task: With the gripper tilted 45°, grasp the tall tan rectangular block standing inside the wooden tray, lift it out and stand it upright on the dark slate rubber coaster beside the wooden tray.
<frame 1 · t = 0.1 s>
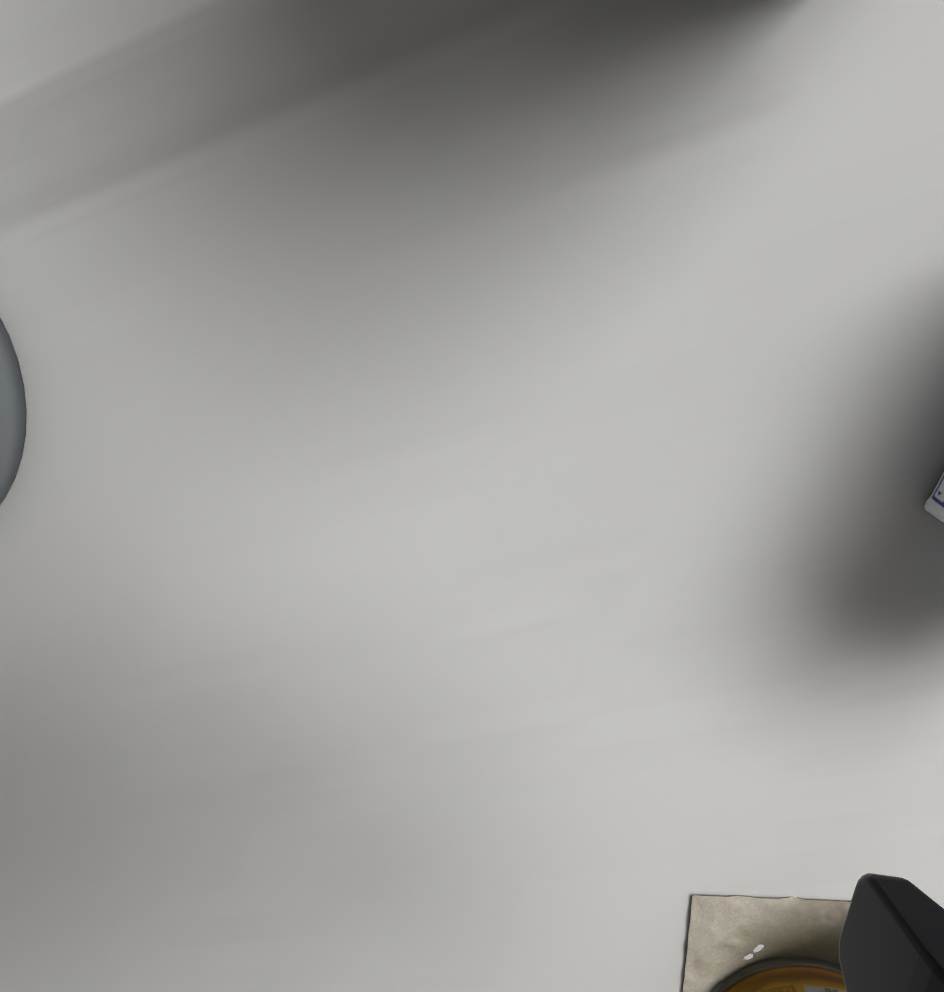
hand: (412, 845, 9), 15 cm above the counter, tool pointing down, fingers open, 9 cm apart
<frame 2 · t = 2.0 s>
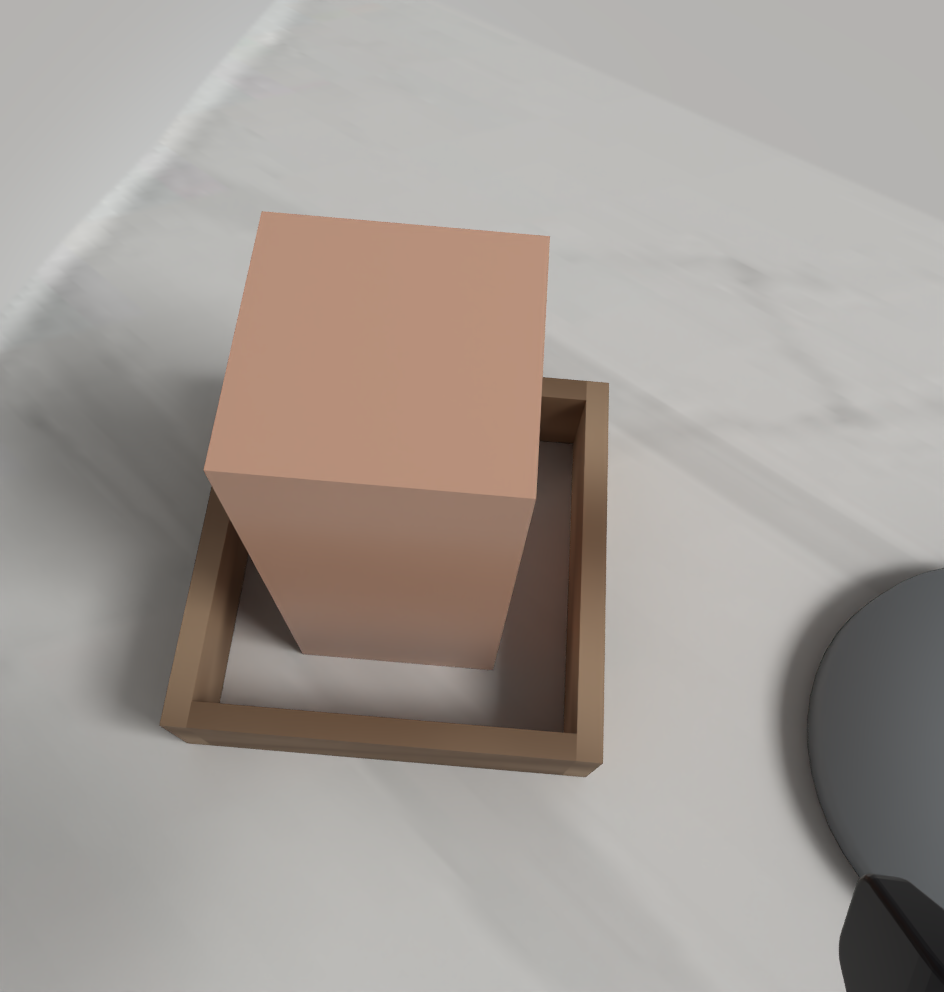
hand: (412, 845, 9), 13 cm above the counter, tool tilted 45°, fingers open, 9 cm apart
wooden tray: (408, 571, 24), on the counter
tan rectangular block: (401, 487, 19), in the wooden tray
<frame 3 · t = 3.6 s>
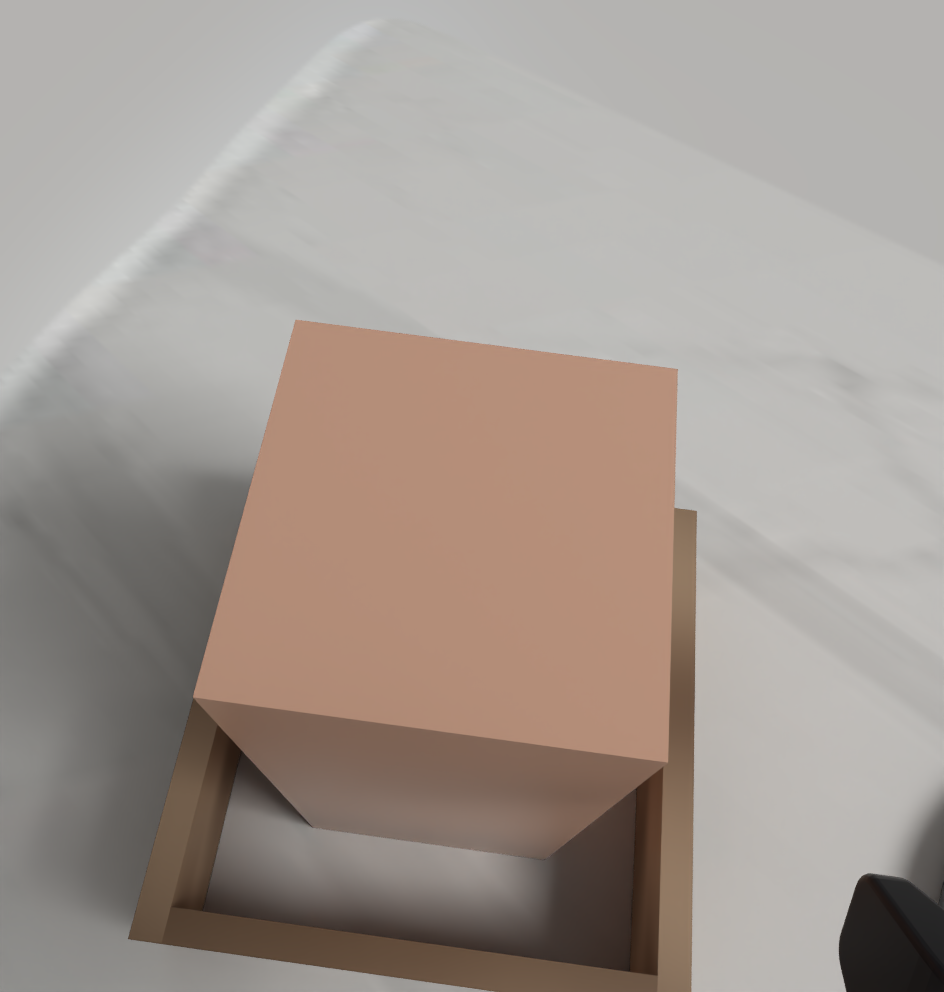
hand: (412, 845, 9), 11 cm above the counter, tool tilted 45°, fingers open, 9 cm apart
wooden tray: (444, 726, 20), on the counter
tan rectangular block: (450, 655, 15), in the wooden tray
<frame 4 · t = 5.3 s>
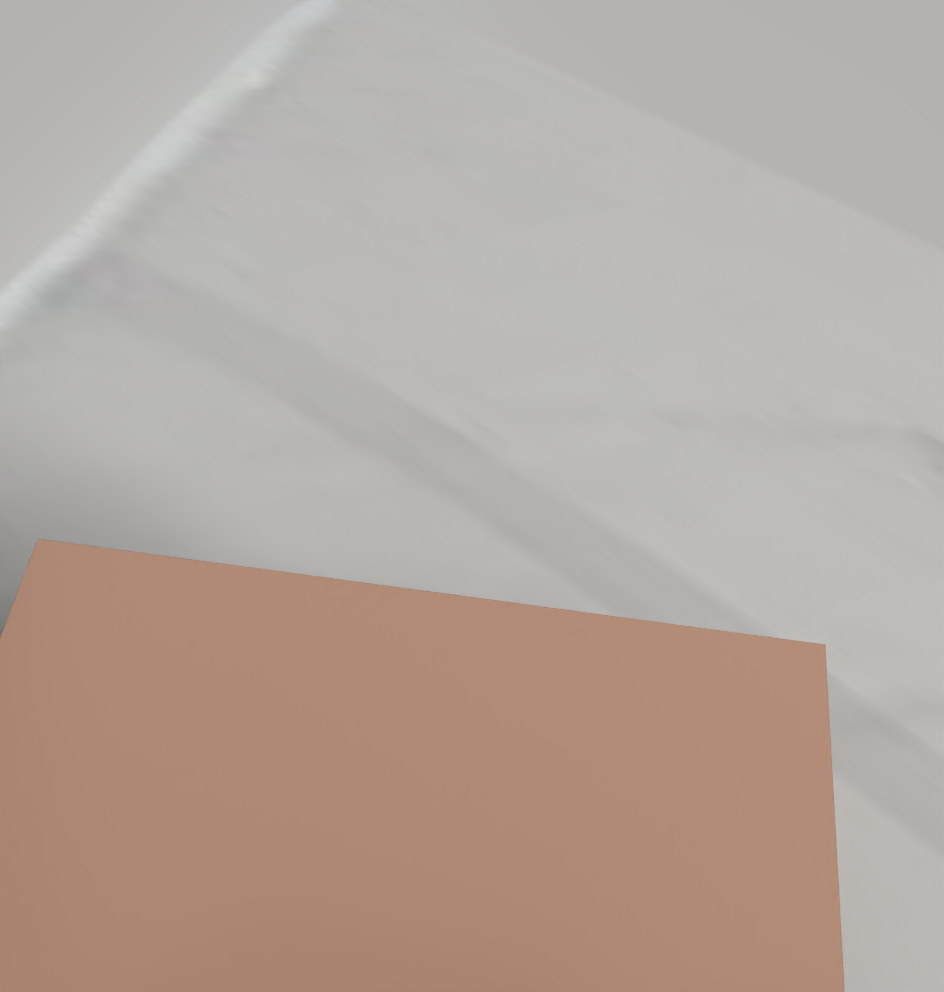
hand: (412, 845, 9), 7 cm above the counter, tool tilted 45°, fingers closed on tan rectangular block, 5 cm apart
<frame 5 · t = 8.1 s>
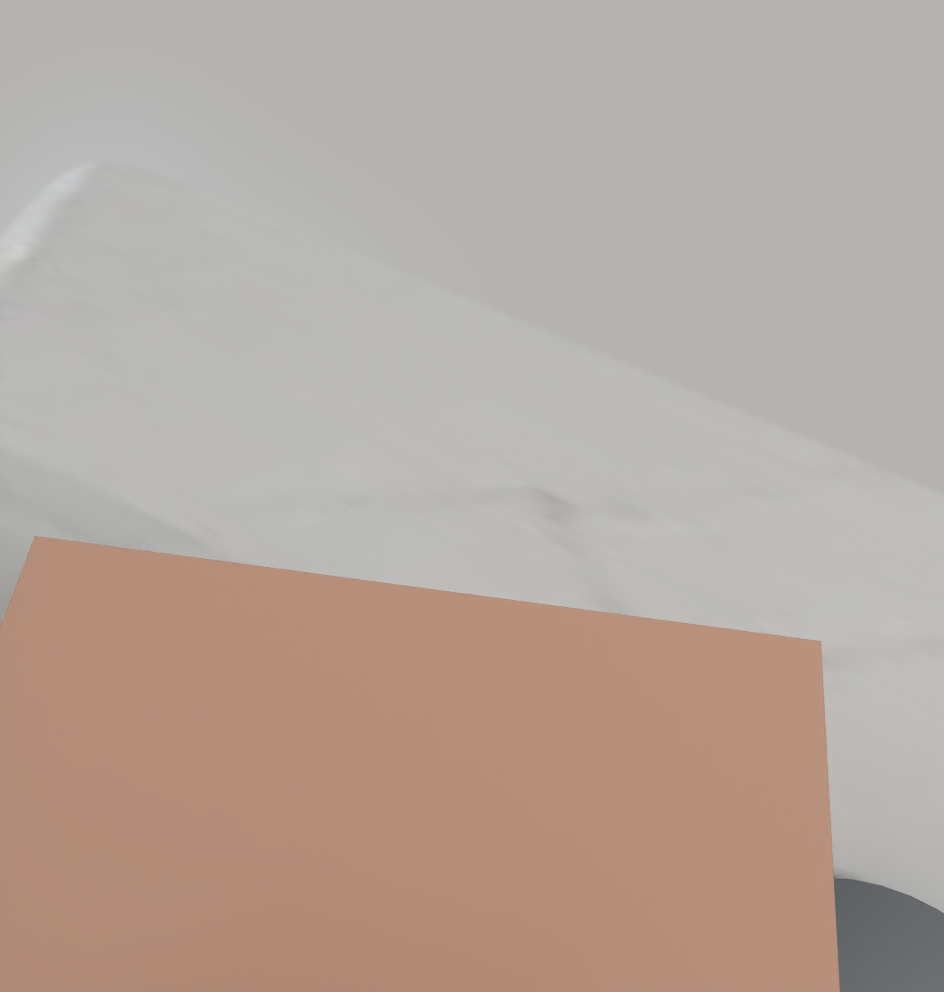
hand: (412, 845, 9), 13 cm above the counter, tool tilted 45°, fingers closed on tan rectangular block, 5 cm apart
when the fingers open (8 cm above the counter, at t = 10.8 s): tan rectangular block stays where it is, resting on coaster.
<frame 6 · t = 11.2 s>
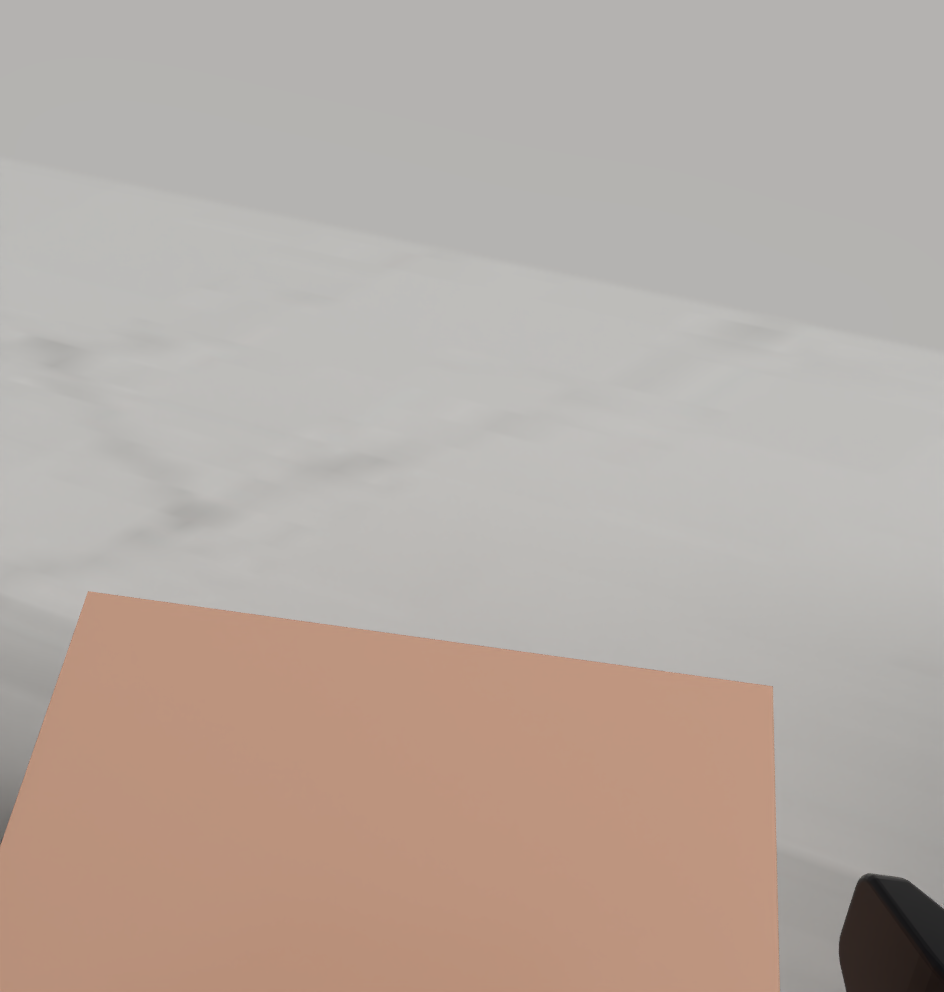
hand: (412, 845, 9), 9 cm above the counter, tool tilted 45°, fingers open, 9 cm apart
tan rectangular block: (395, 991, 10), on the coaster, point 6 cm above the counter
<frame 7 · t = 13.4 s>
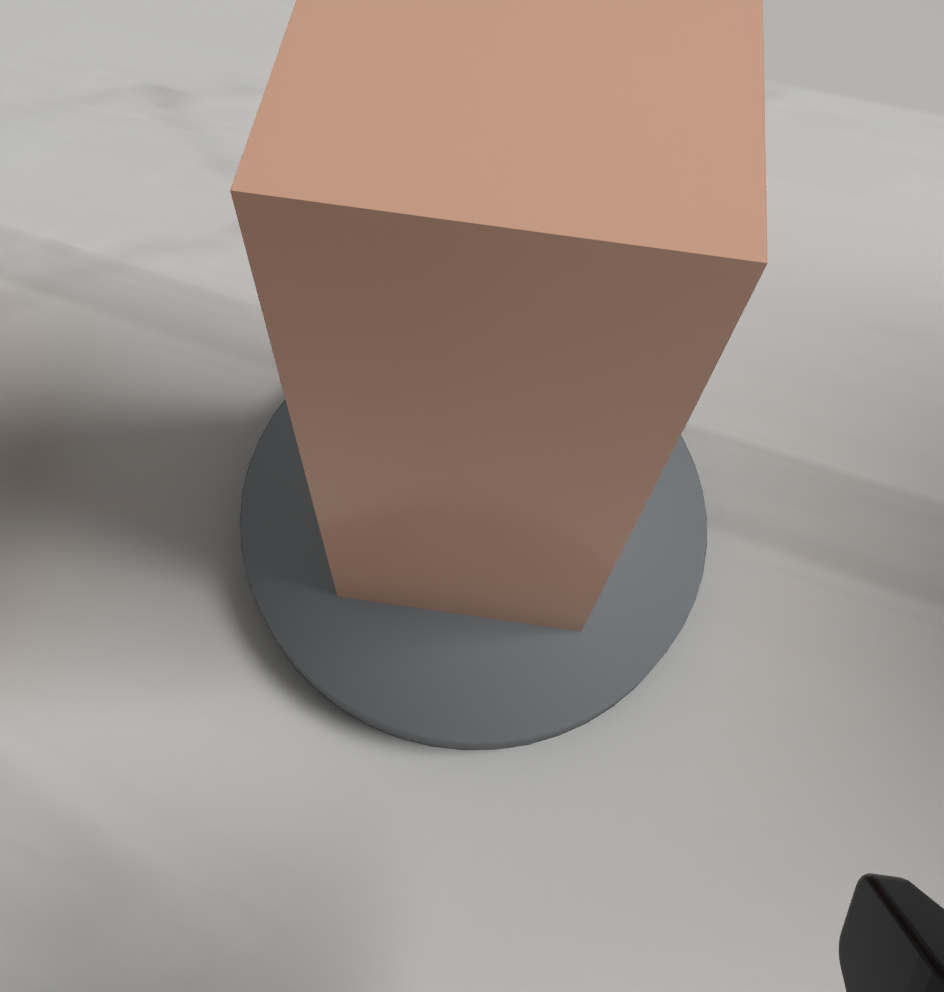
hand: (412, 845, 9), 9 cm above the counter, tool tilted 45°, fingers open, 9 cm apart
tan rectangular block: (492, 354, 14), on the coaster, point 6 cm above the counter
coaster: (473, 523, 20), on the counter
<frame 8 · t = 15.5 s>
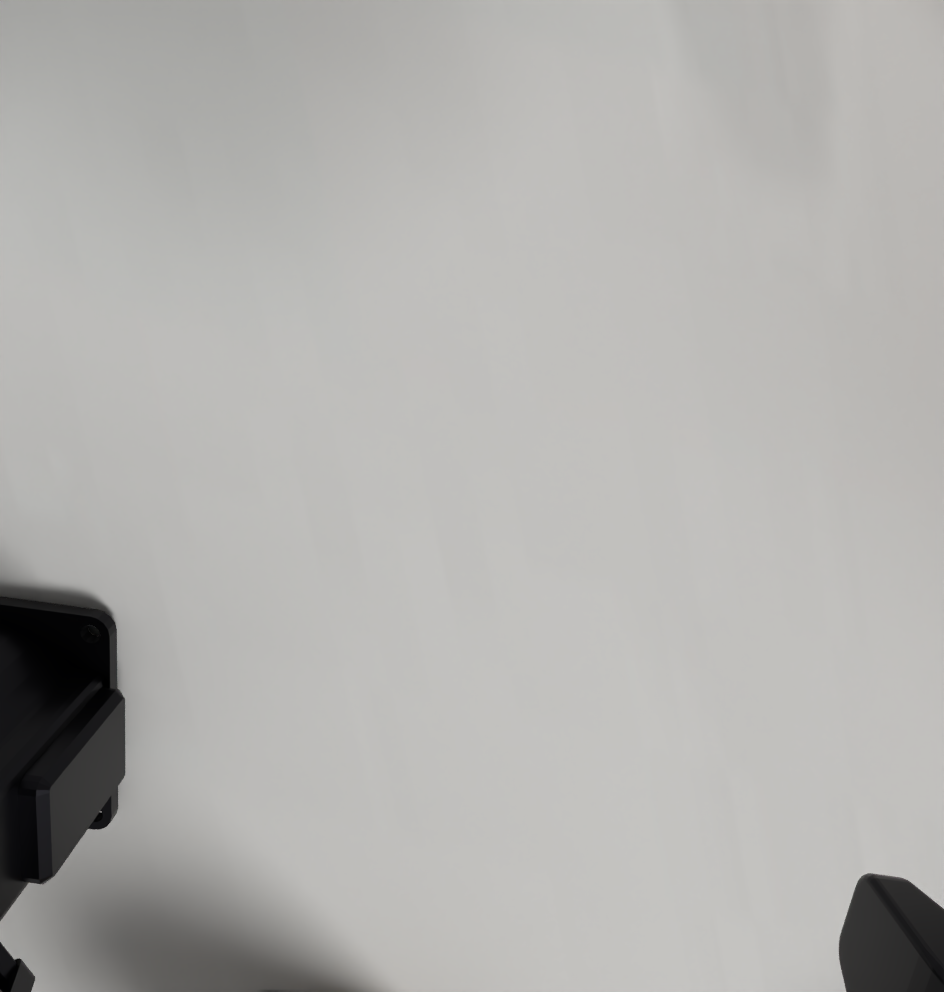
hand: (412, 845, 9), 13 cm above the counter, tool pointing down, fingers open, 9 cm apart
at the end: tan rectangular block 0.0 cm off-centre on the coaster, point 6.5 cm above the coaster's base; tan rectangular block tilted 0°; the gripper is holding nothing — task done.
